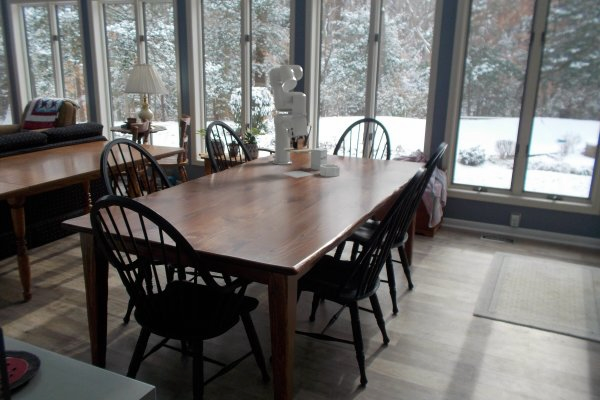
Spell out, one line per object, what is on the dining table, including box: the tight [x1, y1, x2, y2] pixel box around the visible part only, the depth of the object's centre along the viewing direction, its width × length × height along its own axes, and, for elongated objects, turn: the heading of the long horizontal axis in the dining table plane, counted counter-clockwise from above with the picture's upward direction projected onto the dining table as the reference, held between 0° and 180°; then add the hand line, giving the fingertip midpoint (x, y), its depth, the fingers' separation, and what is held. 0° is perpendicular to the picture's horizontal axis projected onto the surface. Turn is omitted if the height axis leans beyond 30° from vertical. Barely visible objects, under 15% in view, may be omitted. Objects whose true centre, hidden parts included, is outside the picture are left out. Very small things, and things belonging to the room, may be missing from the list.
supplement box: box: [310, 147, 328, 171], centre depth 303 cm, size 7×7×13 cm
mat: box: [280, 170, 315, 179], centre depth 289 cm, size 14×14×1 cm
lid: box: [282, 137, 315, 155], centre depth 285 cm, size 13×13×7 cm
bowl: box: [319, 163, 341, 178], centre depth 288 cm, size 11×11×6 cm
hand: (298, 147), depth 285 cm, fingers closed on lid, 4 cm apart
